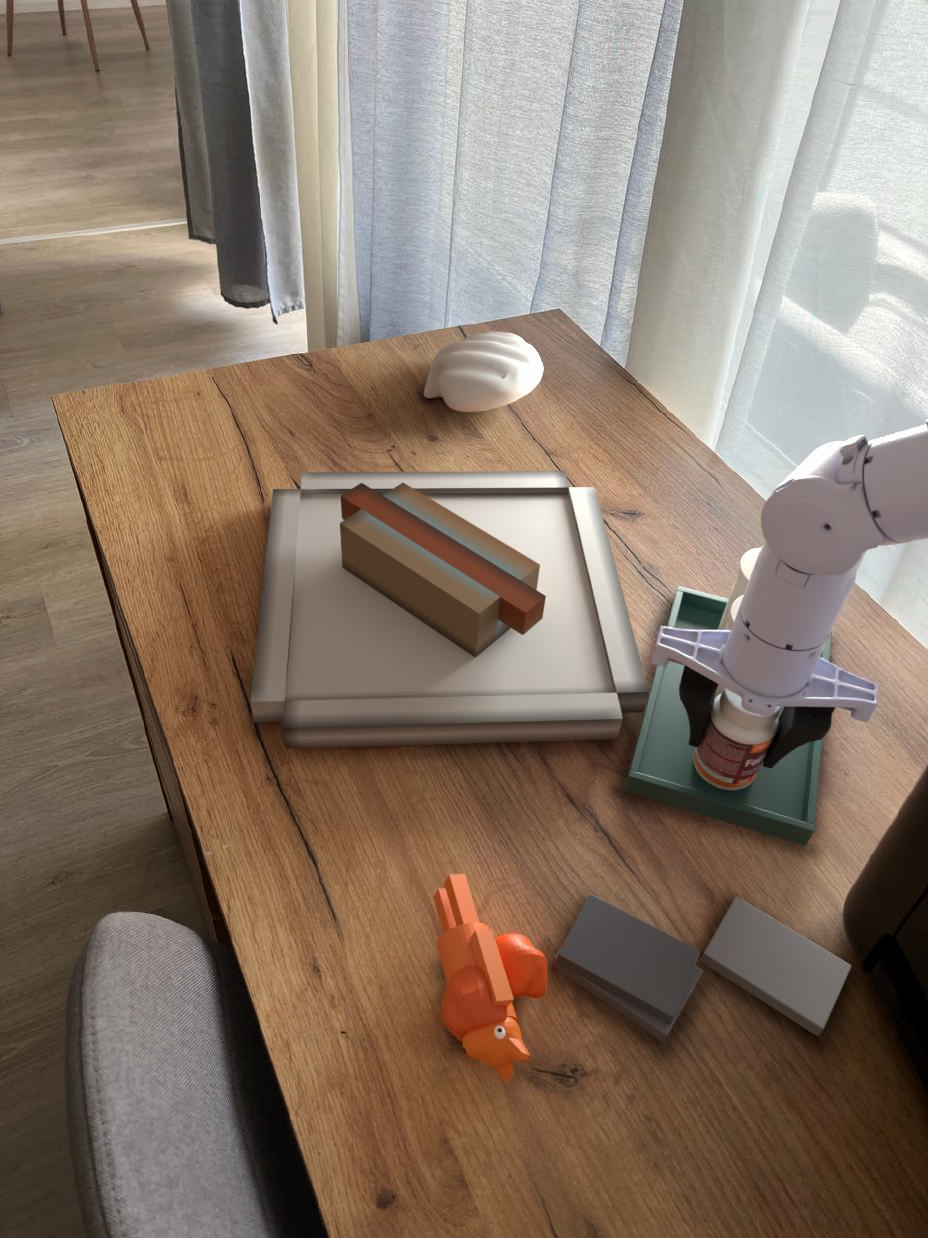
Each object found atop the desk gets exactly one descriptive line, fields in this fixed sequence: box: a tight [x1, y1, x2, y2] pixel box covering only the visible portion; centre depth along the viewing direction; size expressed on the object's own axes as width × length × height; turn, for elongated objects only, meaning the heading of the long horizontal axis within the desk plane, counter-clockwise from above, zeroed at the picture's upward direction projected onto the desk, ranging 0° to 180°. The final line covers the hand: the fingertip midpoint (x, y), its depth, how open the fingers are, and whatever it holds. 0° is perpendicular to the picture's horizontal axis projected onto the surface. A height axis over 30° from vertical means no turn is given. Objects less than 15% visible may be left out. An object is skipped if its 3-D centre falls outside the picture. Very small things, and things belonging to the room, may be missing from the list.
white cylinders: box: [714, 547, 762, 700], centre depth 75 cm, size 11×5×9 cm, turn 161°
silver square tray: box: [249, 470, 650, 749], centre depth 80 cm, size 30×30×8 cm
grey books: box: [551, 893, 852, 1043], centre depth 60 cm, size 16×11×2 cm
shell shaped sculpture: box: [423, 330, 544, 413], centre depth 103 cm, size 13×13×6 cm
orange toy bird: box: [432, 873, 548, 1082], centre depth 58 cm, size 5×8×12 cm
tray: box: [623, 585, 833, 847], centre depth 75 cm, size 21×13×2 cm, turn 161°
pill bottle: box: [693, 687, 782, 791], centre depth 69 cm, size 5×5×8 cm
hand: (731, 746), depth 70 cm, fingers closed on pill bottle, 5 cm apart
